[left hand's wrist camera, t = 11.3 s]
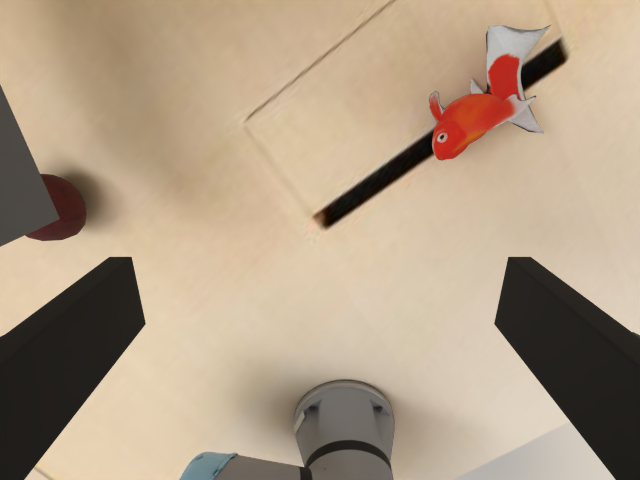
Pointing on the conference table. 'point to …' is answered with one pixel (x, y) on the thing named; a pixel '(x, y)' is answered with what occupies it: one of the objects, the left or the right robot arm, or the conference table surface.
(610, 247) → the conference table surface
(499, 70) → the fish
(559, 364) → the left robot arm
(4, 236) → the bar
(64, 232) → the dark maroon ball
